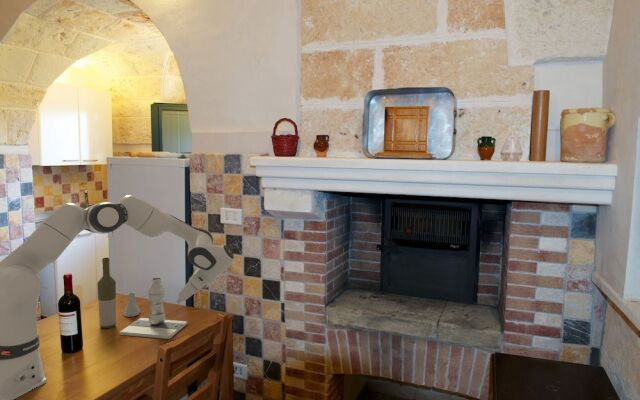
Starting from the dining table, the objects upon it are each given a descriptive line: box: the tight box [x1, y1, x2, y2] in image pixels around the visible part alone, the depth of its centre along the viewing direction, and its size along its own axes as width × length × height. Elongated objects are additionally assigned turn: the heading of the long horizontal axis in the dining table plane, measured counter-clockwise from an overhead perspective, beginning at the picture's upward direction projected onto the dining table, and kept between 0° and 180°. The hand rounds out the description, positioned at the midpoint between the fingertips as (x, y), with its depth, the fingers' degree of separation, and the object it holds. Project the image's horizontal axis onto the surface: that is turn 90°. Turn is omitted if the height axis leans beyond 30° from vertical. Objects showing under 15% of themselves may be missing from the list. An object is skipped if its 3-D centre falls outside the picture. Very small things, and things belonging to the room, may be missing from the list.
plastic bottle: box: [147, 277, 166, 325], centre depth 192 cm, size 6×7×20 cm
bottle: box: [96, 257, 117, 329], centre depth 191 cm, size 7×7×30 cm
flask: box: [122, 292, 141, 318], centre depth 206 cm, size 7×7×10 cm
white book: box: [119, 317, 188, 340], centre depth 190 cm, size 16×22×2 cm
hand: (182, 298), depth 189 cm, fingers open, 8 cm apart
